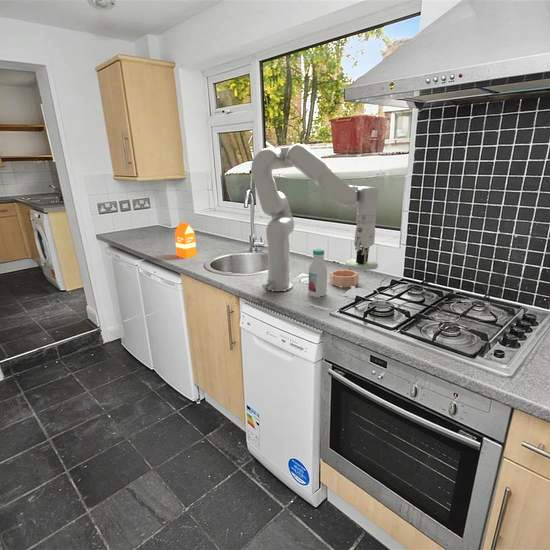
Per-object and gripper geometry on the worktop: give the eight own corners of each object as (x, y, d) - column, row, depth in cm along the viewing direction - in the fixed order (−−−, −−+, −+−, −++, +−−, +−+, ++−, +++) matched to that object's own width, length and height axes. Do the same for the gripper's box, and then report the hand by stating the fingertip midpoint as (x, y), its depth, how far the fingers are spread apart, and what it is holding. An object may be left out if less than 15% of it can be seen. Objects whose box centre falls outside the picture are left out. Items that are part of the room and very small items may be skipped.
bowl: (350, 289, 159) (350, 278, 157) (326, 285, 166) (326, 274, 164) (361, 282, 168) (361, 272, 166) (338, 278, 175) (338, 268, 174)
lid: (370, 272, 141) (371, 256, 139) (340, 265, 149) (341, 250, 147) (382, 264, 151) (384, 250, 149) (353, 259, 159) (355, 245, 157)
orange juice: (186, 258, 211) (183, 225, 205) (176, 256, 216) (173, 223, 210) (196, 256, 217) (194, 223, 211) (187, 253, 222) (184, 221, 216)
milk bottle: (324, 291, 158) (326, 247, 152) (327, 298, 151) (329, 252, 145) (307, 292, 158) (308, 247, 152) (309, 298, 151) (310, 252, 144)
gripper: (366, 222, 135) (361, 269, 141) (382, 217, 148) (378, 260, 154) (348, 220, 140) (344, 265, 146) (365, 215, 152) (361, 257, 158)
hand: (361, 262), depth 150 cm, fingers closed on lid, 3 cm apart
